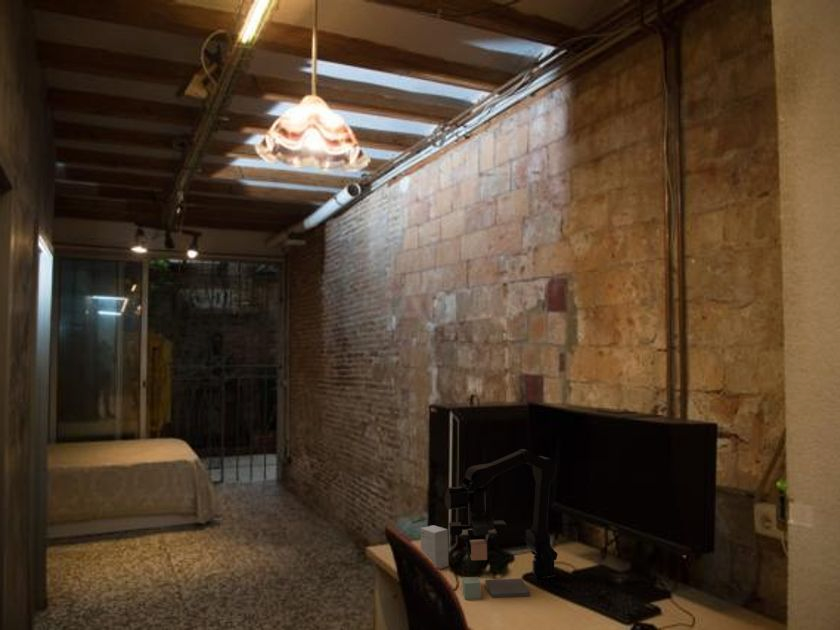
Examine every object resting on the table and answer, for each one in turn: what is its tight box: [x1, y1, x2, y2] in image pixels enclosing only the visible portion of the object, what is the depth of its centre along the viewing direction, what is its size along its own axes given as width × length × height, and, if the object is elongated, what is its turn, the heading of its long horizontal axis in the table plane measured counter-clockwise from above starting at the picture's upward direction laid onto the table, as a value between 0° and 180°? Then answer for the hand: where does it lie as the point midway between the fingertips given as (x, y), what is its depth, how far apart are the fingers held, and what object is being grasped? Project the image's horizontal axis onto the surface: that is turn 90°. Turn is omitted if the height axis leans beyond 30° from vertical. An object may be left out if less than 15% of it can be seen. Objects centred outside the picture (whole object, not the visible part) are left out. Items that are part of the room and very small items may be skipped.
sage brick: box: [461, 576, 482, 601], centre depth 202 cm, size 5×5×5 cm
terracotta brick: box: [469, 539, 488, 561], centre depth 212 cm, size 5×5×5 cm
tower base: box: [484, 577, 531, 599], centre depth 207 cm, size 12×12×1 cm
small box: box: [420, 524, 449, 570], centre depth 231 cm, size 8×6×13 cm
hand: (478, 554), depth 212 cm, fingers closed on terracotta brick, 5 cm apart
